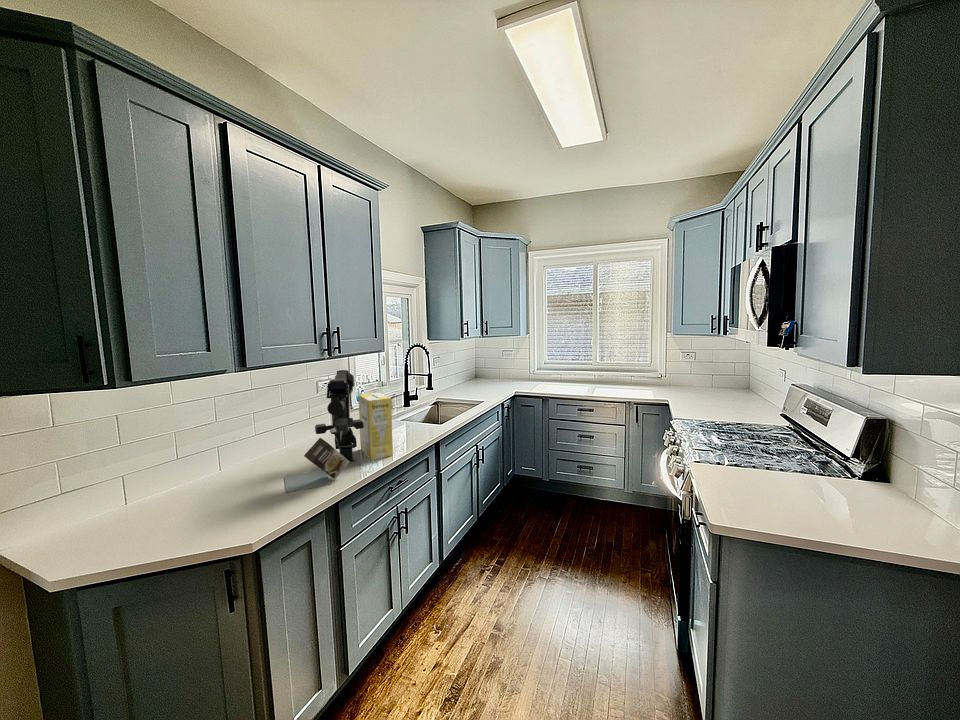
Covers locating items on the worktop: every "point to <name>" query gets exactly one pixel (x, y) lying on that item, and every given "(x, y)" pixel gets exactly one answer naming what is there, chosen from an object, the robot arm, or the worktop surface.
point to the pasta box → (376, 425)
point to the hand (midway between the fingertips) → (340, 446)
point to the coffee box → (326, 458)
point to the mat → (306, 480)
